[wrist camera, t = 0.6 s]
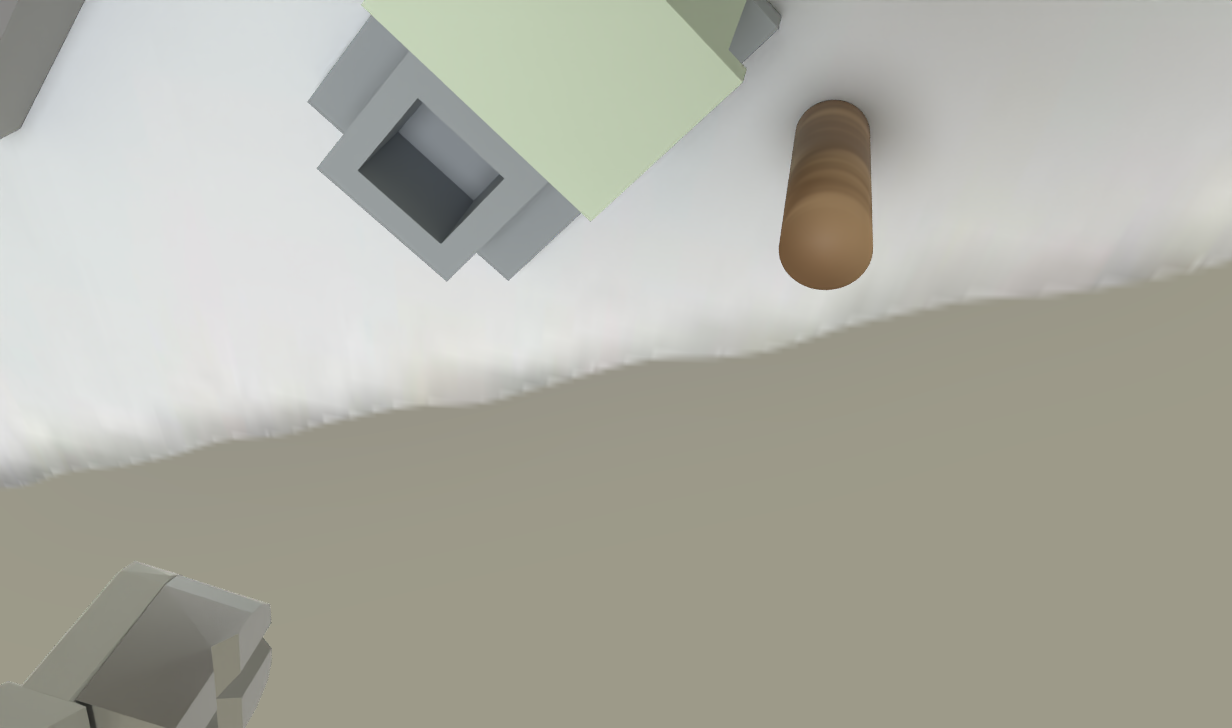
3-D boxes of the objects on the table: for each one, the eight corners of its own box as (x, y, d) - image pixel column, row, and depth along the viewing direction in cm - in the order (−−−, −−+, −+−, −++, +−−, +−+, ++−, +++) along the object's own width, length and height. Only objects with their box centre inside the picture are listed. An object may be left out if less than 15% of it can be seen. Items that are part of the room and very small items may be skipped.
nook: (560, -229, 40) (472, -205, 31) (781, 16, 44) (761, 101, 35) (324, 89, 51) (206, 176, 42) (518, 263, 55) (449, 378, 45)
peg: (837, 84, 45) (831, 189, 36) (885, 138, 46) (892, 254, 37) (779, 133, 47) (760, 245, 38) (827, 183, 48) (819, 305, 38)
